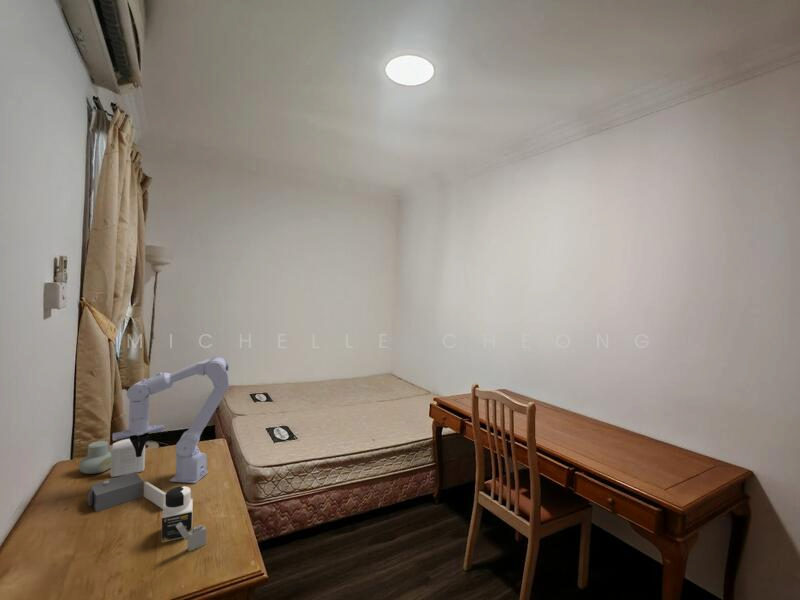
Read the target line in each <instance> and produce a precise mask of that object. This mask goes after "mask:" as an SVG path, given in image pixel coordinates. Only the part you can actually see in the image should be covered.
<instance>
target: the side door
mask: <svg viewBox="0 0 800 600" xmlns="http://www.w3.org/2000/svg"><path fill="white" fill-rule="evenodd" d="M166 493H167V492H165V491H163V490H161V489H160V488H158V487H157V486H155V485H153V484H152V483H150V482H148V481H146V480H145V481H143V498H145V499H147V500H148V501H150V502H152V503H153V504H155V505H156V506H157V507H159V508H160V509H161V510H163V509H164V504H165V503H166Z"/></svg>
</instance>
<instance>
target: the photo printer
mask: <svg viewBox="0 0 800 600" xmlns="http://www.w3.org/2000/svg"><path fill="white" fill-rule="evenodd" d="M110 452H111V468H109V469H110V471H109V473H110V475H109V476H110V477H112V478H115V477H120V476H123V475H127V474H130V473H134V472H136V473H137V474H138V473H140V472H144V471H145V470H146V469H145V468H146V467H145V465H146V444H145V445H144V448H143V451H142V455H141V457H136V452H135V448H134V446H133V444H132V443H131V441H130V438H124V439H121V440H118V441H116V442H114V443H112V446H111V448H110Z"/></svg>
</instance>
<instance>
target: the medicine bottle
mask: <svg viewBox="0 0 800 600" xmlns="http://www.w3.org/2000/svg"><path fill="white" fill-rule="evenodd" d="M165 493H166V503H165V504H164V509H162V515H161V543H166V542H170V541H176V540H179V539H184V538H183V536H182V535H181V533H180V532H179V530H178V529H177V528H176V525H177V524H179V523H180V522H181V523H182V524H183V526H184V527H185V529H186V530H187V532H190V531H193V517H194V515H193V509H194V499H193V498H191V487H189V486H185V485H183V486H182V485H181V486H177V487H172V488H171V489H169V490H168V491H167V492H165Z"/></svg>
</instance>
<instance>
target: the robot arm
mask: <svg viewBox="0 0 800 600" xmlns="http://www.w3.org/2000/svg"><path fill="white" fill-rule="evenodd" d="M195 375H199V376H201V377H204V376H205V375H206V376H207V378H208V379H210V381H211V383H212V385H213V390H211V392H210V394H209V395H208V397H207V399H206V401H204V404H203V406H202V407H201V409H200V410H199V412H198V414H197V415H196V417H195V418H194V420H193V422H192V423H191V425H190V427H189V428H188V430H186V431H184V432H183V433H182V435H181V437H180V439H179V440H178V441H177V443H176V444H175V446H174V451H175V475H174V476H173V477H172V478H171V479H169V482H172V483H173V482H175V483H187V484H196V483H197V482H198V481H200V480H201V479H202V478H203V477H205V476H206V475H207V474H208V473H209V472H208V456H207V454H206V453H204V452H201V451H200V448H199V446H198V444H199V442H200V441H201V440H200V439H201V435H202V434H203V431H204V429H205V428H206V426H207V424H208V423H209V421H210V419H211V418H212V416H213V415H214V413H215V412H216V409H217V408H218V406H219V404H220V403H221V401H222V400H223V398H224V396H225V395H226V393H227V392H228V390H229V387H230V386H231V383H230V382H231V380H230V366H229V364H228V362H227V359H226V358H224V357H222V356H214V357H212V358H207V359H204V360H201V361H198V362H196V363H193V364H190V365H188V366H186V367H184V368H182V369H179V370H176V371H175V372H172V373H169V372H166V371H165V372H161V371H160V372H157V373H156V375H154V376H152V377H149V378H143V379H141V380H140V381H138V382H136V383H134V384H133V385H131V386H130V387H129V388H128V389H127V391H126V396H127V397H126V398H128V400H129V407H128V417H129V418H128V429H126V430H125V429H124V430H122V431H118V432H113V433H112V441H113V442H114V441H117V440H120V439H121V440H123V439H130V441H131V443H132V444H133V446H134V448H135V452H136V457H141V455H142V451H143V448H144V445H145V446H146V443H147V441H148V439H149V437H150V436H149V434H155V433H163V432H164V431H165V426H164V424H159V425H158V424H157V425H150V396H152V395H155V394H158V393H160V392H163V391H165V390H167V389H168V390H169V389H170V388H172V387H173V385H174V383H175V382H178V381H181V380H184V379H186V378H189V377H191V376H195Z"/></svg>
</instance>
